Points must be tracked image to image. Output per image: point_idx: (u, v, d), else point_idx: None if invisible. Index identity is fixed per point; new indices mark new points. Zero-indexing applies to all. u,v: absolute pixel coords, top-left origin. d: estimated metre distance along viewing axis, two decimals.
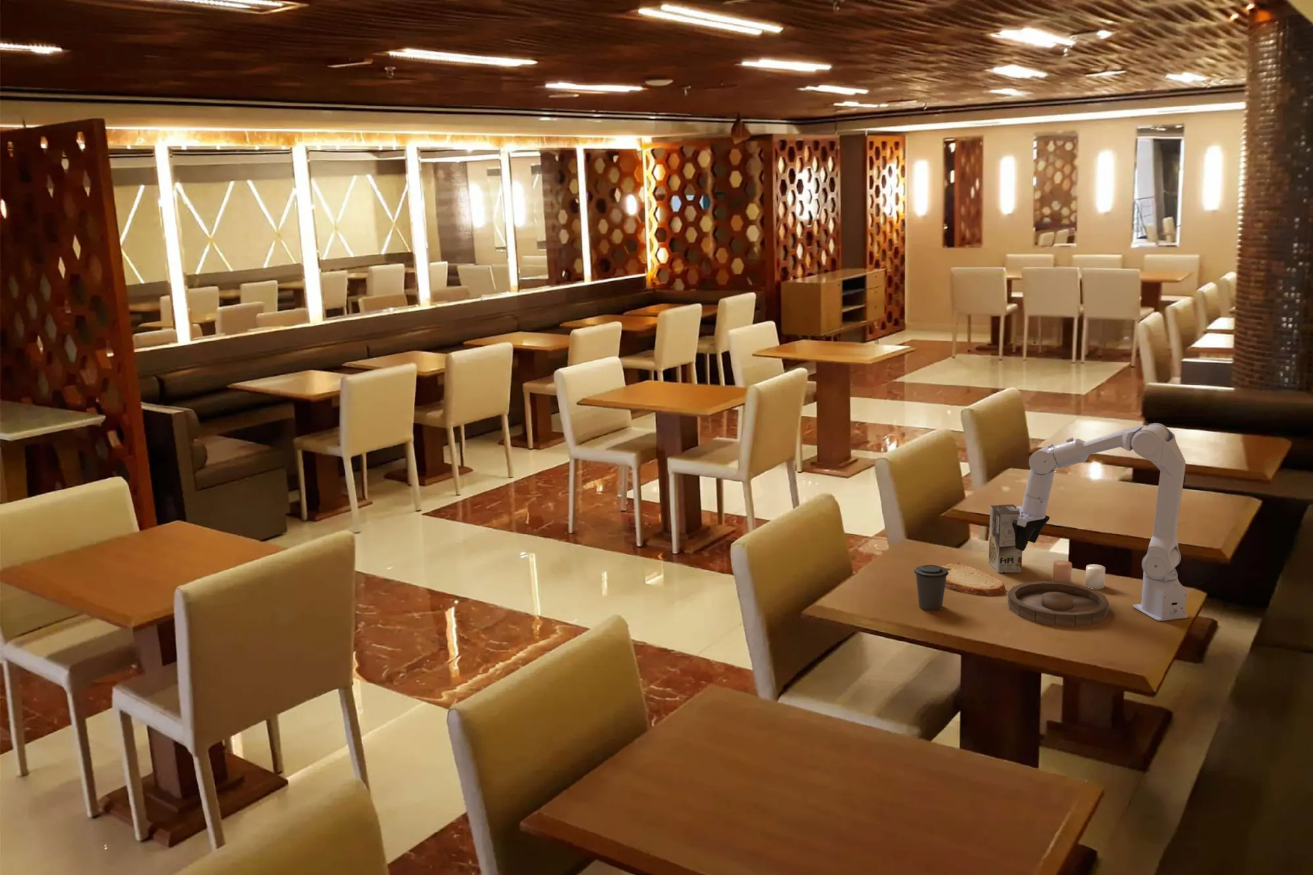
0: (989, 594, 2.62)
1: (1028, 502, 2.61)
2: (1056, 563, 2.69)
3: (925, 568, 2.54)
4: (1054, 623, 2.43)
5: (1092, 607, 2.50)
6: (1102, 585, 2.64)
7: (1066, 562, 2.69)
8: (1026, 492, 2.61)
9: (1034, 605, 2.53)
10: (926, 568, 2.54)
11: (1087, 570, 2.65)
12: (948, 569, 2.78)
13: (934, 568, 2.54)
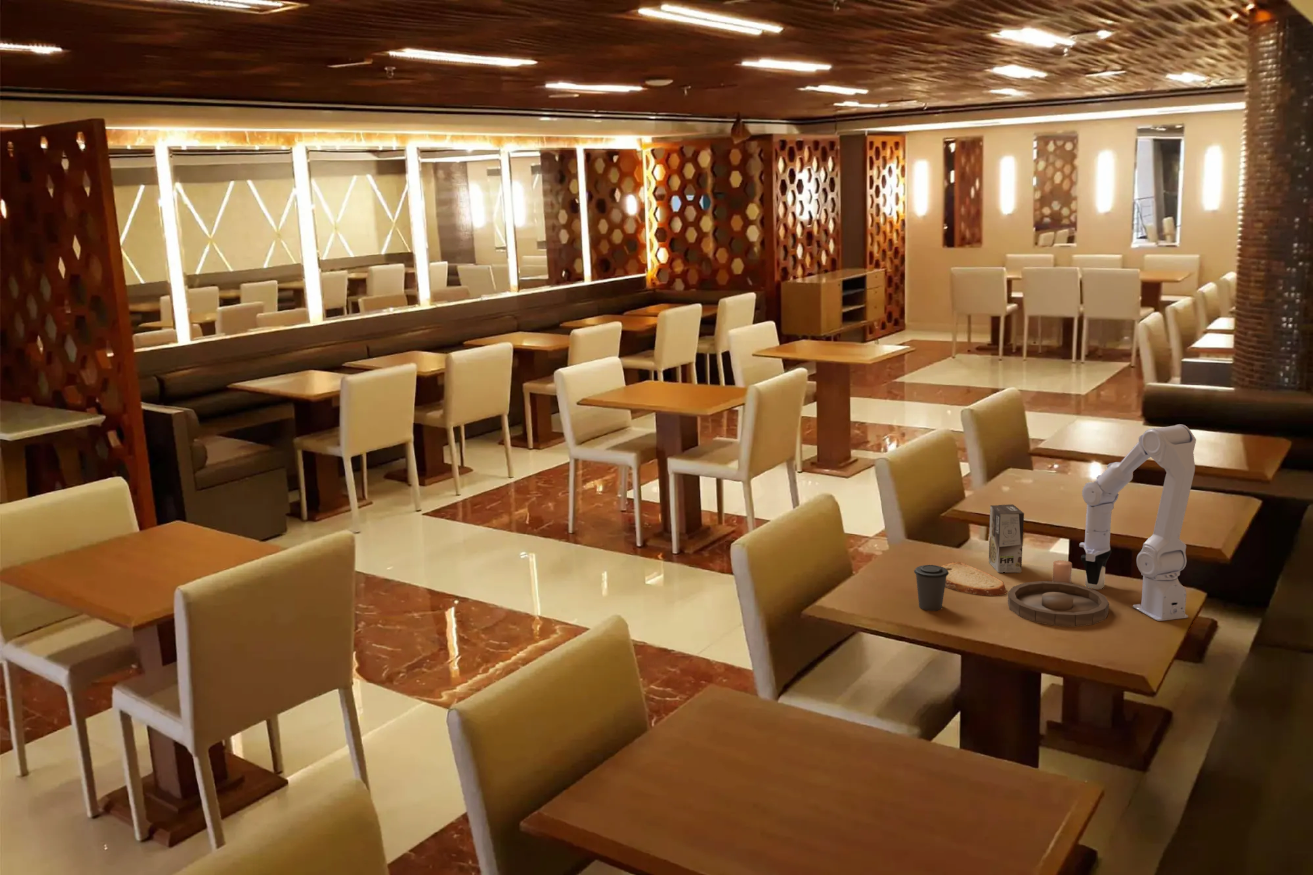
0: (989, 594, 2.62)
1: (1091, 536, 2.62)
2: (1056, 563, 2.69)
3: (925, 568, 2.54)
4: (1054, 623, 2.43)
5: (1092, 607, 2.50)
6: (1102, 585, 2.64)
7: (1066, 562, 2.69)
8: None
9: (1034, 605, 2.53)
10: (926, 568, 2.54)
11: None
12: (949, 569, 2.78)
13: (934, 568, 2.54)
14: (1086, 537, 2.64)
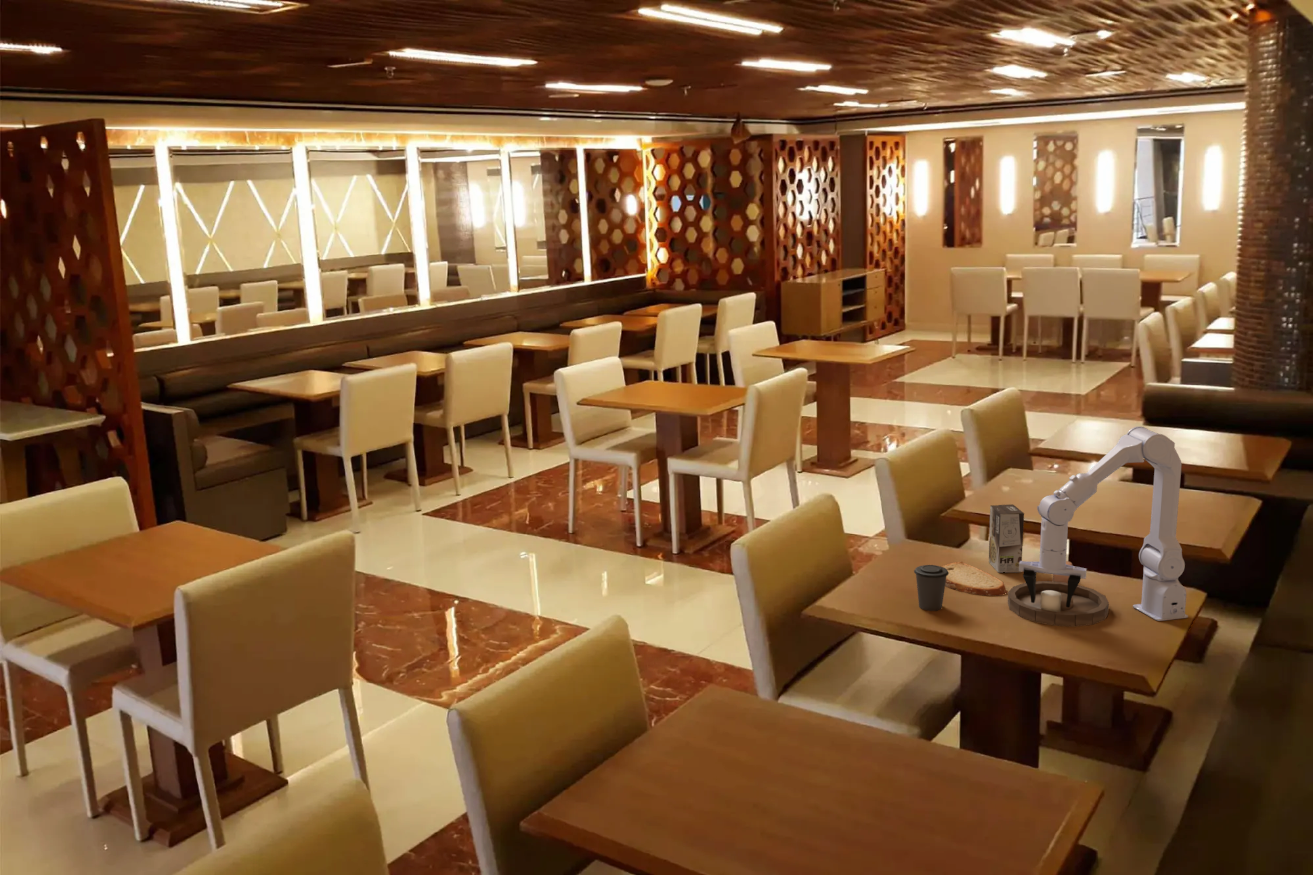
0: (988, 594, 2.62)
1: None
2: None
3: (925, 568, 2.54)
4: (1054, 623, 2.43)
5: (1092, 607, 2.50)
6: None
7: (1066, 562, 2.70)
8: (1048, 548, 2.42)
9: (1034, 605, 2.53)
10: (926, 568, 2.54)
11: None
12: (951, 568, 2.78)
13: (934, 568, 2.54)
14: None
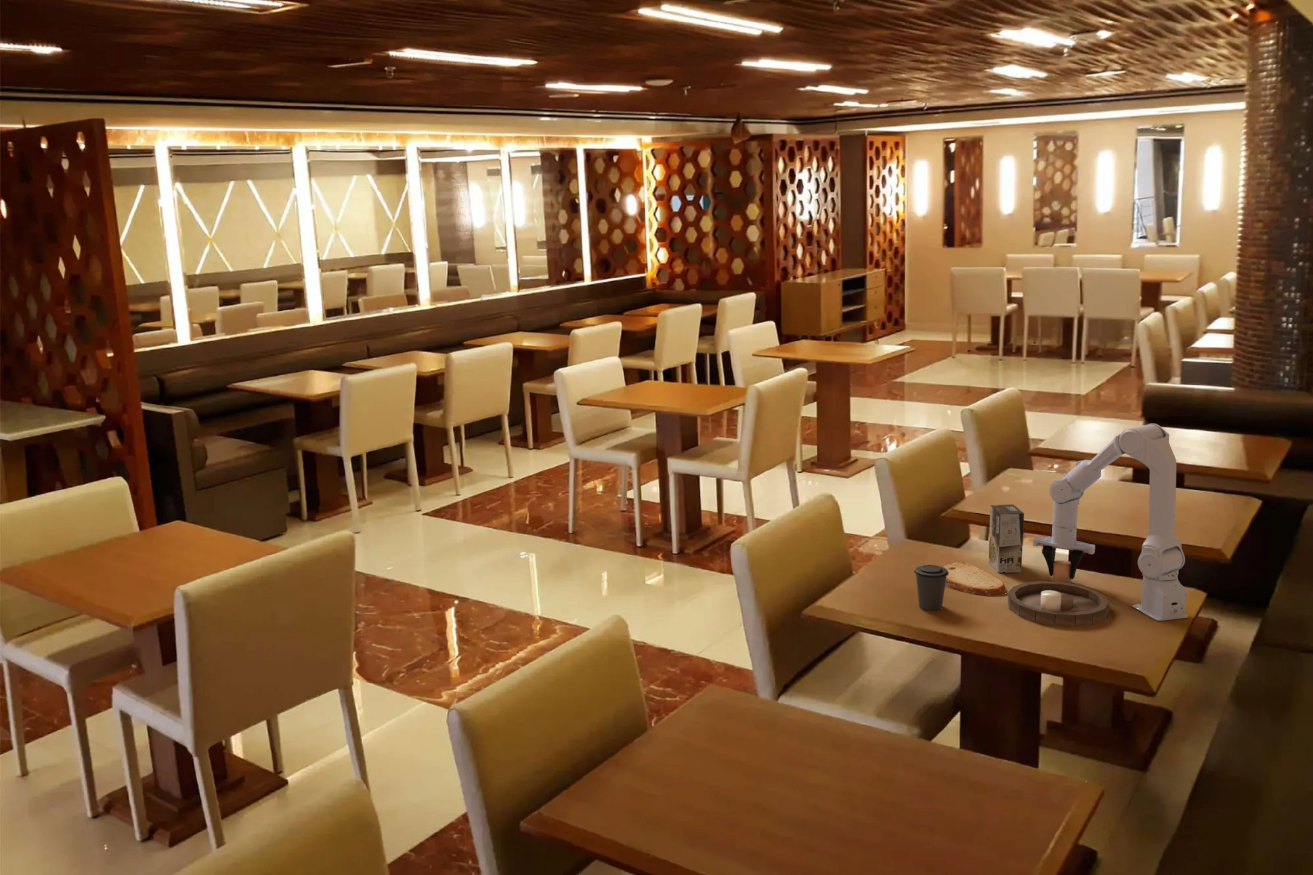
0: (987, 594, 2.62)
1: None
2: (1056, 563, 2.69)
3: (925, 568, 2.54)
4: (1054, 623, 2.43)
5: (1092, 607, 2.50)
6: None
7: (1066, 562, 2.69)
8: None
9: (1034, 605, 2.53)
10: (927, 568, 2.54)
11: None
12: (953, 568, 2.79)
13: (934, 568, 2.54)
14: None
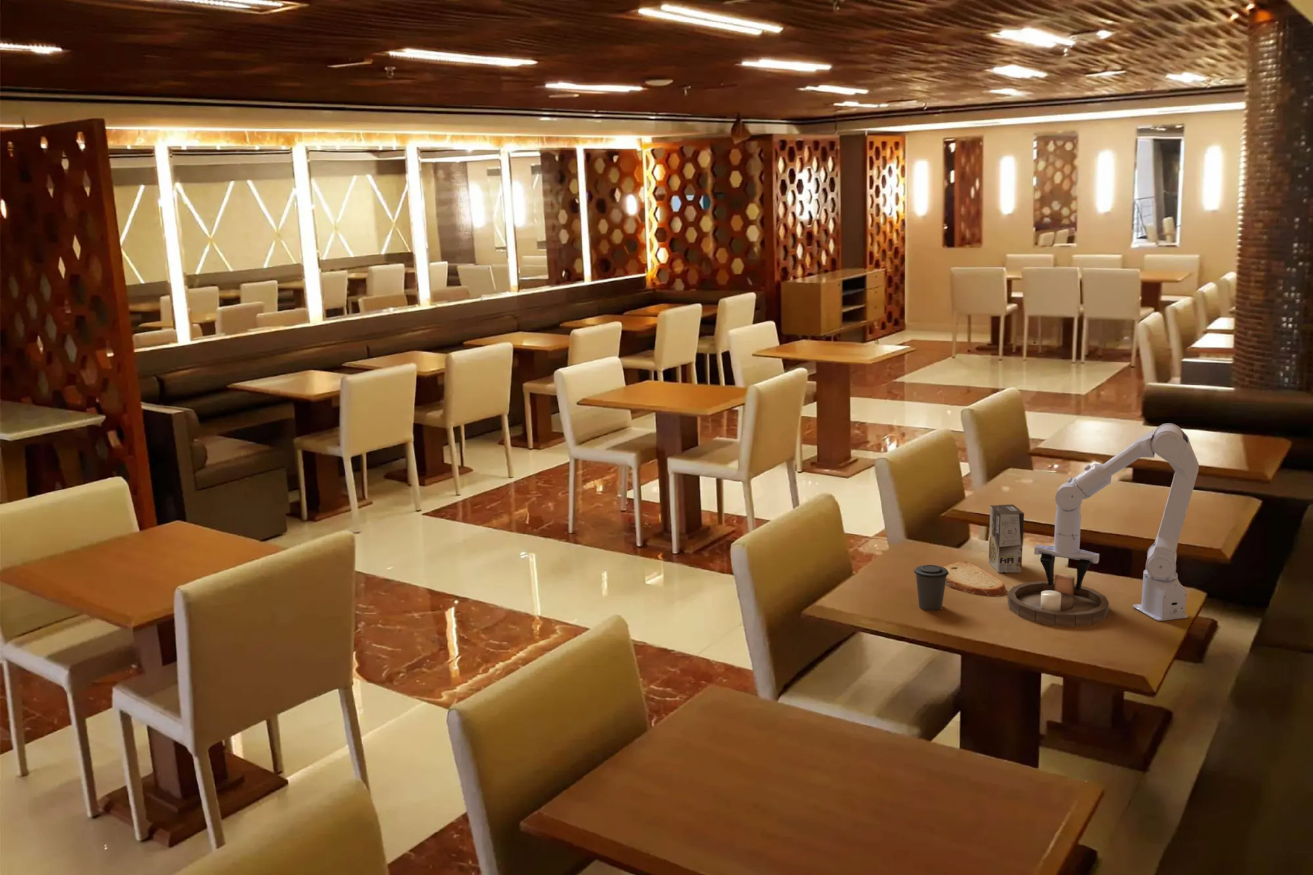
0: (987, 594, 2.62)
1: None
2: (1058, 577, 2.57)
3: (925, 568, 2.54)
4: (1054, 623, 2.43)
5: (1092, 607, 2.50)
6: None
7: (1068, 576, 2.57)
8: (1057, 532, 2.53)
9: (1034, 605, 2.53)
10: (926, 568, 2.54)
11: None
12: (955, 568, 2.79)
13: (934, 568, 2.54)
14: None
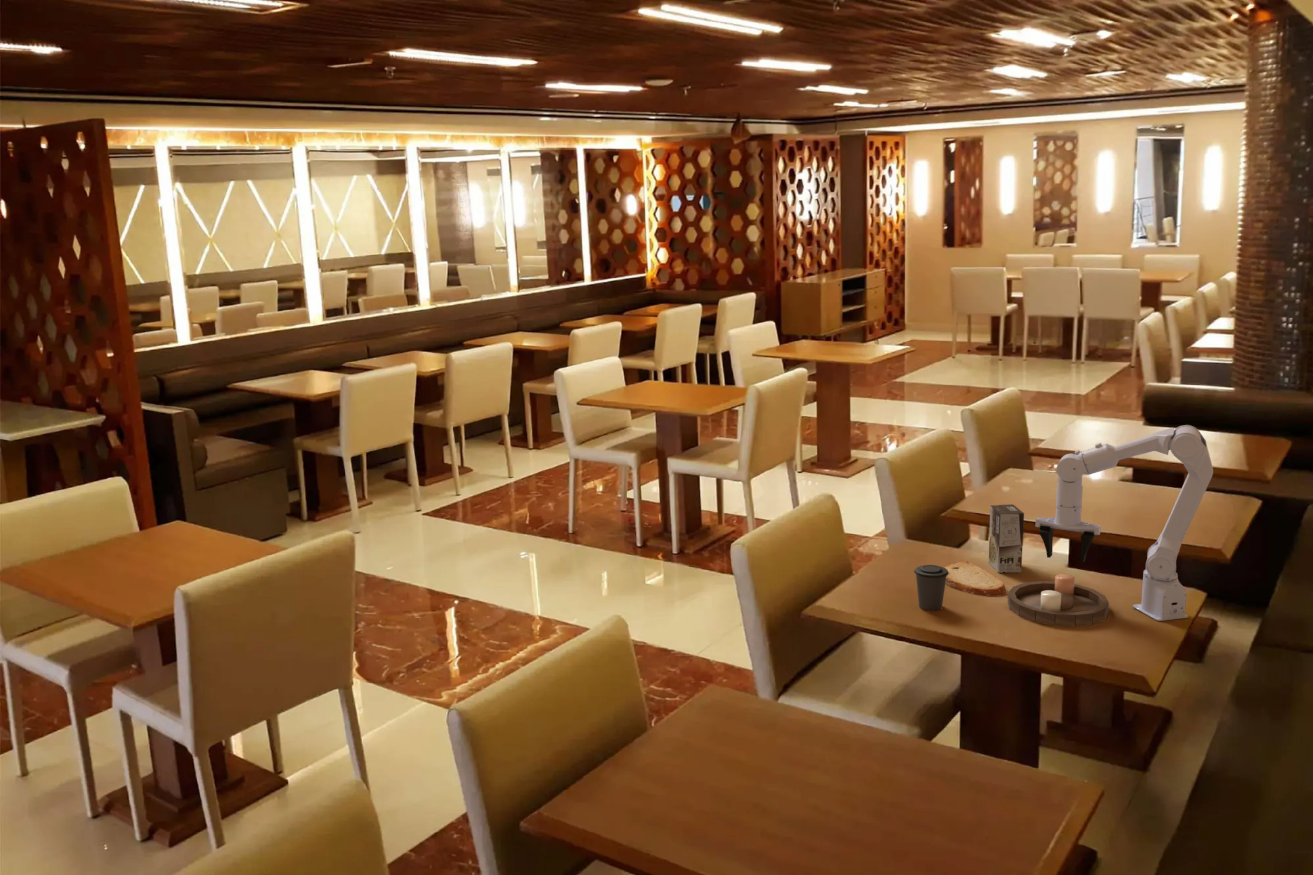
0: (986, 594, 2.62)
1: None
2: (1058, 577, 2.57)
3: (925, 568, 2.54)
4: (1054, 623, 2.43)
5: (1092, 607, 2.50)
6: None
7: (1069, 576, 2.57)
8: (1059, 503, 2.52)
9: (1034, 605, 2.53)
10: (926, 568, 2.54)
11: None
12: (957, 568, 2.79)
13: (934, 568, 2.54)
14: None
